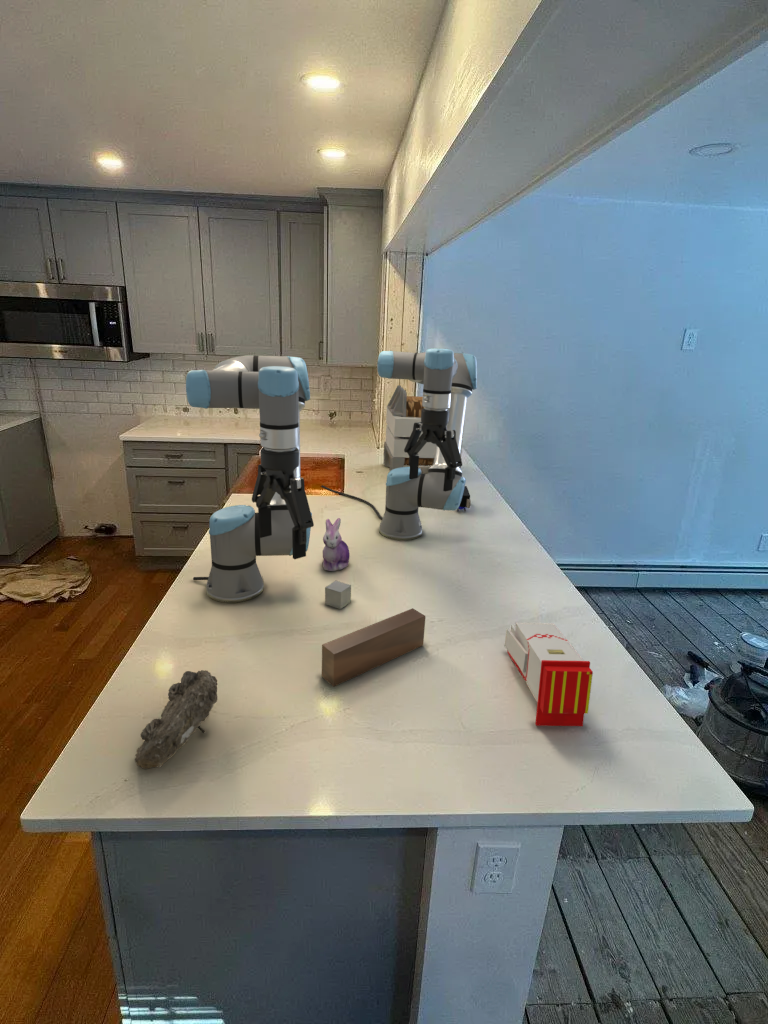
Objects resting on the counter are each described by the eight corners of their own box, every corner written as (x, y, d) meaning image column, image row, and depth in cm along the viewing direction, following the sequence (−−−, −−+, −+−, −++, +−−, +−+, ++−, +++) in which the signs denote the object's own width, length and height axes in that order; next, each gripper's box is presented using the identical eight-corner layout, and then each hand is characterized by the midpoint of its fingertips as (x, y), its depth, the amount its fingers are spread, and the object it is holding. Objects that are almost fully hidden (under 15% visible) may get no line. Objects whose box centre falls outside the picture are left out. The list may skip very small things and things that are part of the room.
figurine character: (470, 516, 223) (465, 500, 237) (473, 499, 220) (467, 484, 233) (453, 516, 223) (449, 500, 236) (455, 498, 220) (451, 483, 233)
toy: (550, 607, 134) (601, 667, 105) (545, 659, 137) (594, 732, 108) (499, 606, 134) (537, 666, 104) (495, 659, 137) (530, 731, 107)
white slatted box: (382, 463, 289) (386, 382, 275) (445, 464, 293) (451, 384, 279) (390, 482, 257) (394, 392, 243) (460, 483, 261) (468, 394, 247)
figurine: (327, 574, 167) (327, 527, 162) (315, 561, 175) (315, 515, 170) (356, 569, 171) (357, 523, 166) (343, 556, 179) (343, 511, 174)
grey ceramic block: (324, 604, 151) (325, 587, 149) (335, 596, 155) (335, 580, 153) (340, 609, 149) (340, 592, 147) (350, 601, 153) (351, 584, 151)
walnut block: (321, 676, 121) (321, 644, 119) (410, 637, 137) (412, 608, 135) (333, 687, 118) (334, 654, 116) (423, 645, 134) (425, 615, 132)
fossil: (167, 671, 114) (219, 638, 109) (200, 702, 116) (252, 671, 112) (109, 762, 94) (169, 727, 89) (151, 796, 97) (212, 765, 92)
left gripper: (233, 437, 118) (237, 531, 126) (297, 464, 101) (298, 572, 108) (264, 433, 123) (267, 524, 130) (332, 458, 106) (330, 562, 113)
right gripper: (394, 402, 159) (390, 475, 166) (460, 417, 141) (453, 498, 148) (413, 400, 163) (409, 471, 170) (480, 414, 146) (472, 493, 153)
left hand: (281, 546), depth 119 cm, fingers open, 13 cm apart
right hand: (430, 484), depth 159 cm, fingers open, 13 cm apart
